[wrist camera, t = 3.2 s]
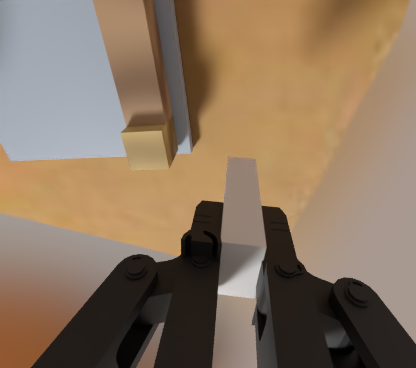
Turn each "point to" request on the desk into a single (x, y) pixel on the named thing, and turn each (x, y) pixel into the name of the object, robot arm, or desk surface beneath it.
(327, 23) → the desk surface
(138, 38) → the link
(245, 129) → the desk surface
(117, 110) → the board
